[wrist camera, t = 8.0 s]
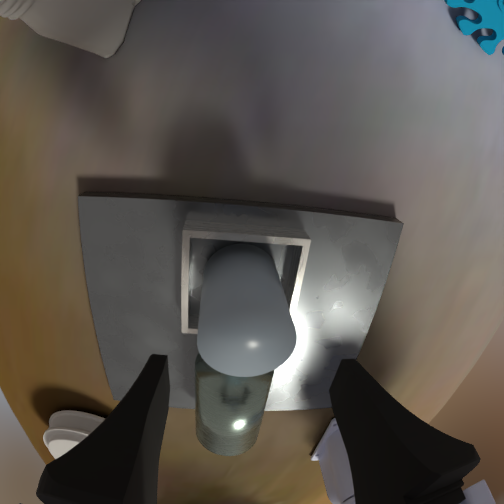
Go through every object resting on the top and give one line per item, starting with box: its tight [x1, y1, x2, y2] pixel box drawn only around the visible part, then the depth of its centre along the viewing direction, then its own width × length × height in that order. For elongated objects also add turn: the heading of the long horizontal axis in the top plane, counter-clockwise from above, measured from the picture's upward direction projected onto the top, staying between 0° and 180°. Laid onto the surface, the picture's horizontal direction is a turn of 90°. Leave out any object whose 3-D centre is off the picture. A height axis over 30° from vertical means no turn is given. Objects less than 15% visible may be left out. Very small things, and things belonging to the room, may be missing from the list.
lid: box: [43, 410, 105, 459], centre depth 26 cm, size 13×13×5 cm
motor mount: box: [78, 192, 404, 456], centre depth 19 cm, size 18×20×6 cm
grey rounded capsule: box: [197, 244, 297, 377], centre depth 16 cm, size 4×4×6 cm
